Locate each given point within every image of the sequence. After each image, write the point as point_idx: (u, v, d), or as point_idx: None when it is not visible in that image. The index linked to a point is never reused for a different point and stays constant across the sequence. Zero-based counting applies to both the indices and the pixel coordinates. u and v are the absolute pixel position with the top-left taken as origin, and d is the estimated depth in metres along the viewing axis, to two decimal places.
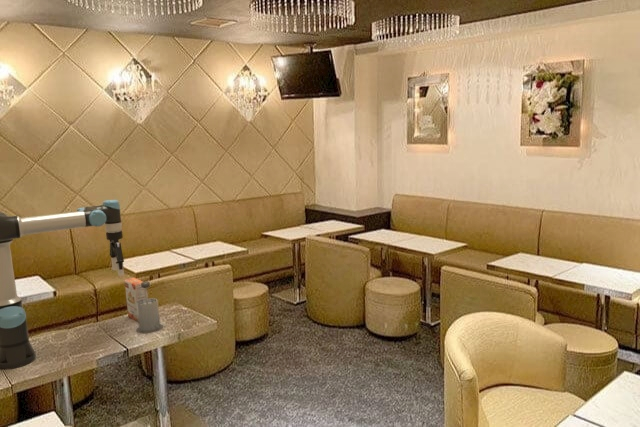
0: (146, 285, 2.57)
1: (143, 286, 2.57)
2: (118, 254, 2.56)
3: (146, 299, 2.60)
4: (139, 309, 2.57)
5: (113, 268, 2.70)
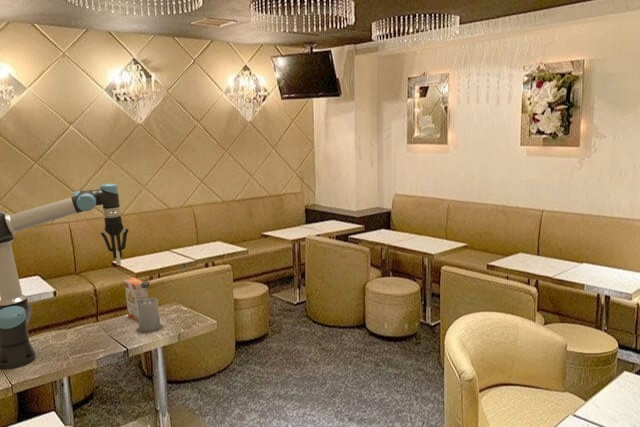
0: (146, 285, 2.57)
1: (143, 286, 2.57)
2: None
3: (146, 299, 2.60)
4: (139, 309, 2.57)
5: None
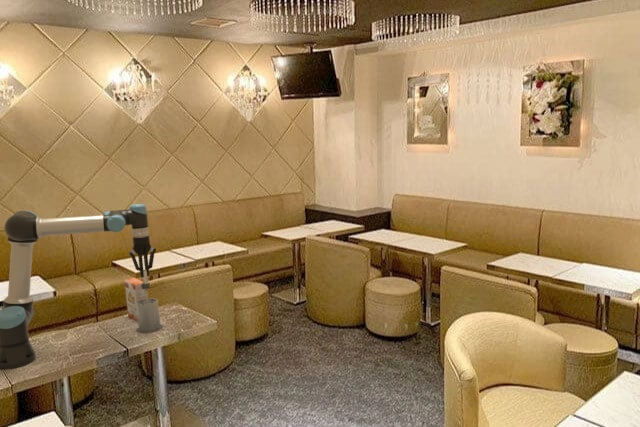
0: (146, 286, 2.57)
1: (143, 287, 2.57)
2: (133, 262, 2.55)
3: (146, 300, 2.60)
4: (139, 309, 2.57)
5: None
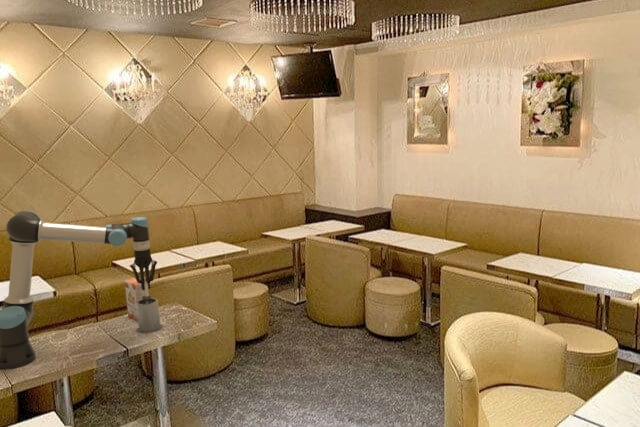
0: (147, 299, 2.58)
1: (144, 300, 2.58)
2: None
3: None
4: (139, 309, 2.57)
5: None
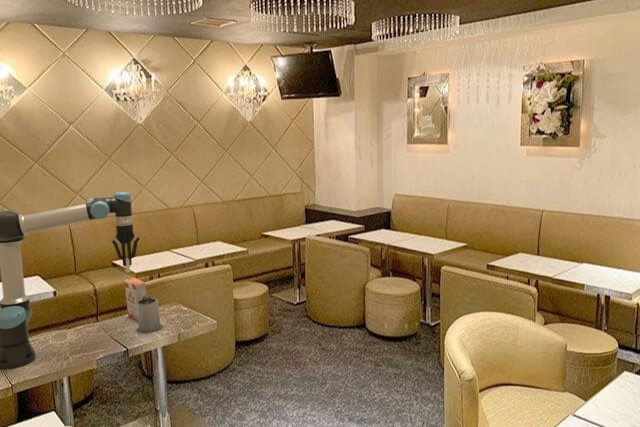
0: (147, 299, 2.58)
1: (144, 300, 2.58)
2: (116, 251, 2.54)
3: None
4: (139, 309, 2.57)
5: None
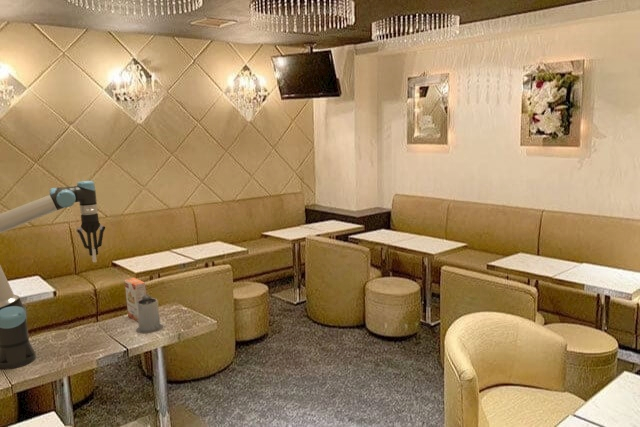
0: (147, 299, 2.58)
1: (144, 300, 2.58)
2: None
3: None
4: (139, 309, 2.57)
5: None
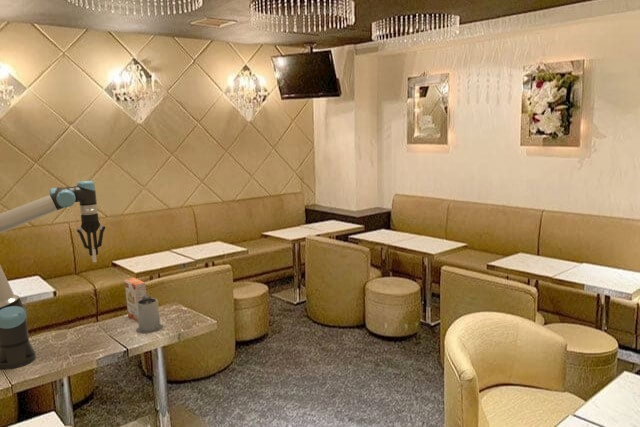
0: (147, 299, 2.58)
1: (144, 300, 2.58)
2: None
3: None
4: (139, 309, 2.57)
5: None
